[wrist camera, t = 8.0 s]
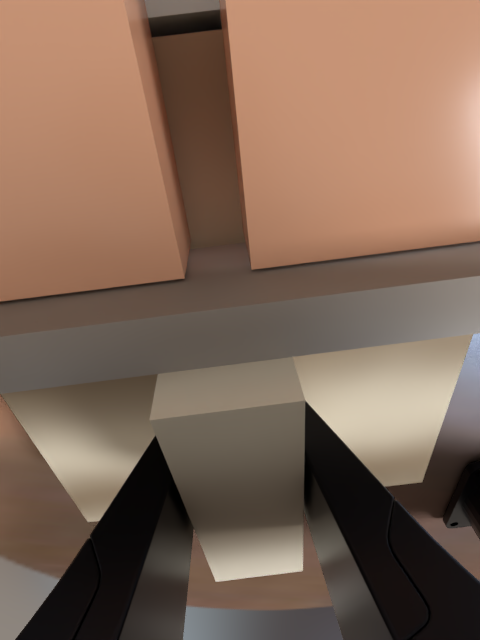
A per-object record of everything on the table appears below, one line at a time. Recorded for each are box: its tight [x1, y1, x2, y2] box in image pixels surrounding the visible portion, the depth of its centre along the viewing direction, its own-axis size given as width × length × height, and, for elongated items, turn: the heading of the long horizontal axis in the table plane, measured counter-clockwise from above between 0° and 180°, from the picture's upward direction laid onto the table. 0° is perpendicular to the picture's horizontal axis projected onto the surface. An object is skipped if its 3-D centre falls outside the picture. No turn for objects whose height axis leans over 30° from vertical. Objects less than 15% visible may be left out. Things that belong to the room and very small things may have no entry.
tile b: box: [0, 0, 191, 302], centre depth 6 cm, size 4×4×2 cm
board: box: [1, 29, 473, 522], centre depth 11 cm, size 15×14×3 cm
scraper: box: [0, 241, 480, 582], centre depth 8 cm, size 8×12×4 cm
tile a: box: [219, 0, 480, 270], centre depth 6 cm, size 4×4×2 cm
